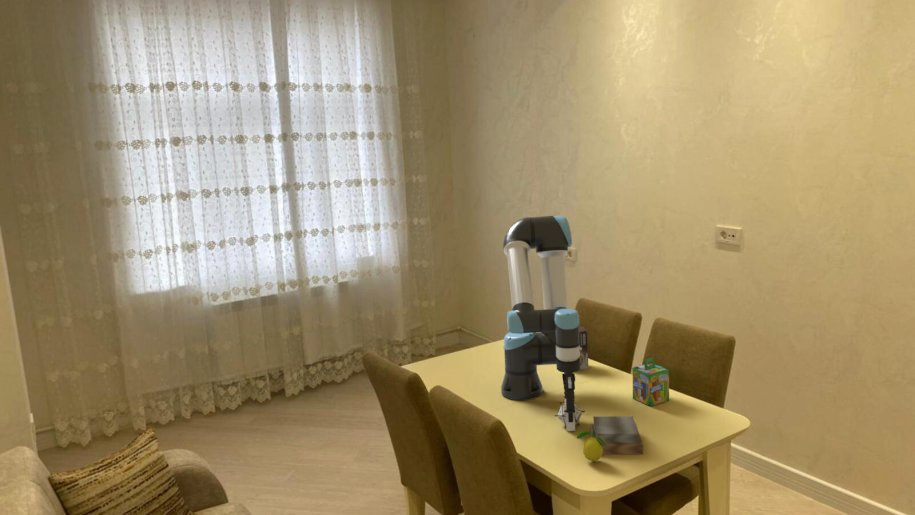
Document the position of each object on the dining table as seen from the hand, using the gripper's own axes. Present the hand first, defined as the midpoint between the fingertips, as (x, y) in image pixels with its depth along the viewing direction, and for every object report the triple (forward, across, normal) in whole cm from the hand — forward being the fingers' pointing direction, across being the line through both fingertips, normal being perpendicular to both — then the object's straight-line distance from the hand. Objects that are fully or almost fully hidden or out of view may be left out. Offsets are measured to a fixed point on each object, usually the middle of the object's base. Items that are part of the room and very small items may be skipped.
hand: (570, 424), depth 217 cm
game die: (+1, 0, 0) cm, 1 cm away
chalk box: (+1, +20, -29) cm, 35 cm away
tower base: (0, -13, -13) cm, 18 cm away
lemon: (+1, -25, -5) cm, 25 cm away
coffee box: (0, +53, -5) cm, 53 cm away
